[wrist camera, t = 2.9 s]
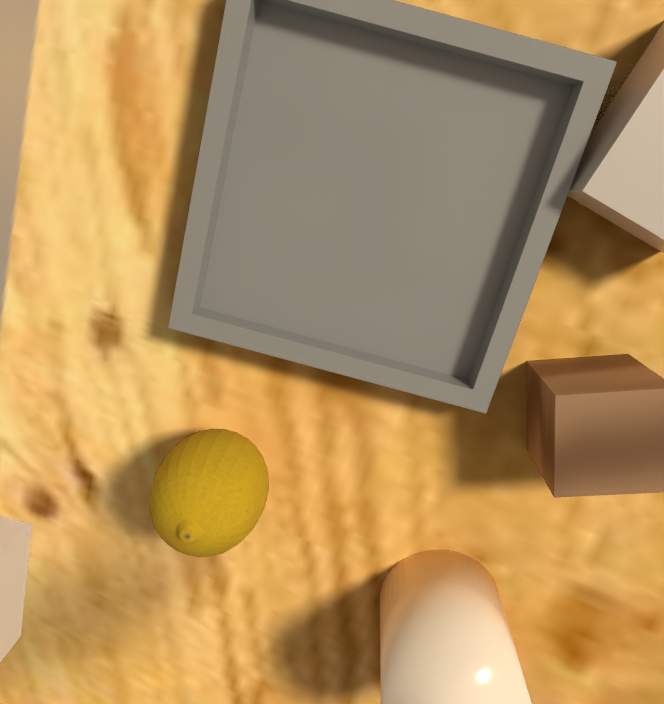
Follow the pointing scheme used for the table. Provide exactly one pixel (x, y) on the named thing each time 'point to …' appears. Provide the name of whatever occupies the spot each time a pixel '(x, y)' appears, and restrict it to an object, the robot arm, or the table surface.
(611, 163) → the grey box
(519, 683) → the cream rounded cylinder
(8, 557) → the robot arm
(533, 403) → the walnut block
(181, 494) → the lemon
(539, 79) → the dish
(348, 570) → the table surface
